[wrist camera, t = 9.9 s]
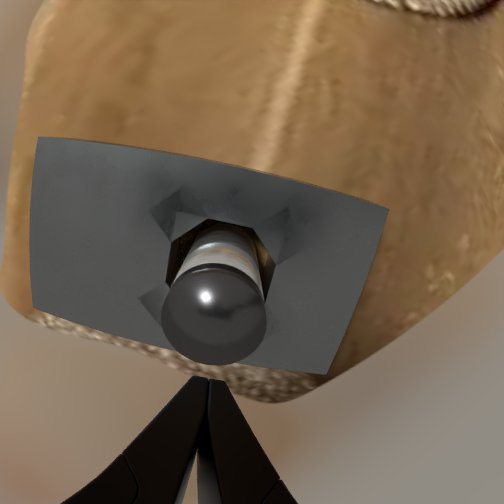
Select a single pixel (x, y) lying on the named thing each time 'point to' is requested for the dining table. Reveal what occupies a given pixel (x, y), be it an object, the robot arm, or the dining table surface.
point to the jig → (168, 237)
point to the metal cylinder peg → (216, 299)
